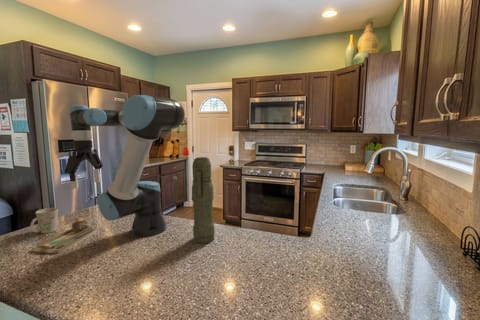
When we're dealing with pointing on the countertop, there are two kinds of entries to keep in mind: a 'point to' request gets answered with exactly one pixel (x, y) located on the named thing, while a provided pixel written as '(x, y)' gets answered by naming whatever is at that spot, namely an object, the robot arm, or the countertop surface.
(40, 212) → the mug
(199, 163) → the green carved statue
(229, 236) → the countertop surface
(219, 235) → the countertop surface
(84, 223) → the slider knob
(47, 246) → the tuner board
